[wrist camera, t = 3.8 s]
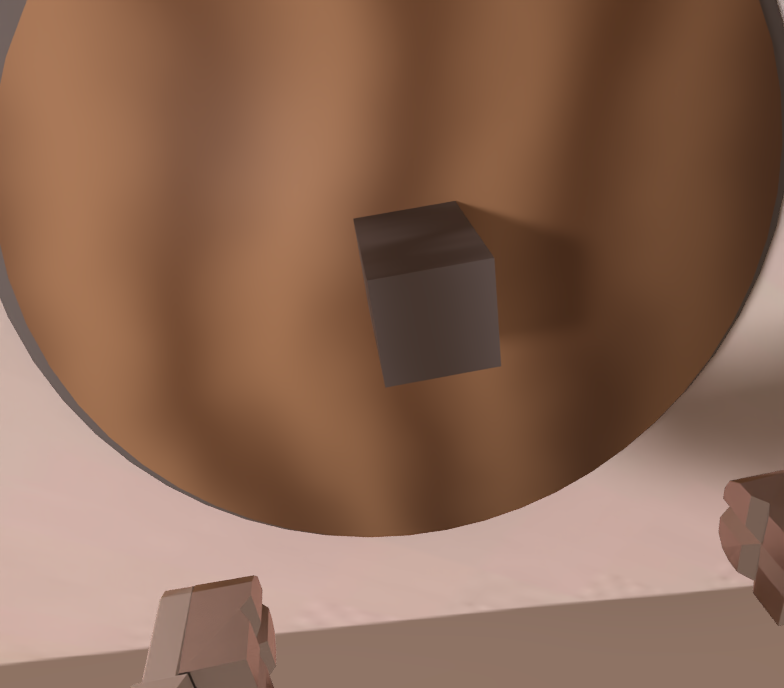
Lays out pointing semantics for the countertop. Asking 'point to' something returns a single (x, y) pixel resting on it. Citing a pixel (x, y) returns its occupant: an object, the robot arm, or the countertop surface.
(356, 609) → the countertop surface
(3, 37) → the mat
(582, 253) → the lid
